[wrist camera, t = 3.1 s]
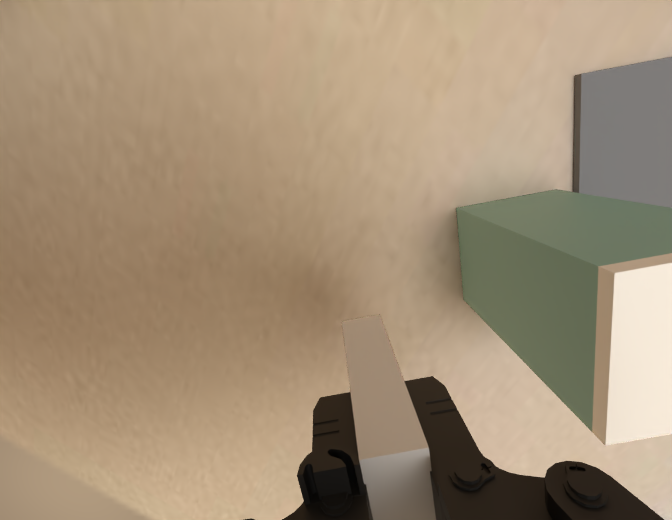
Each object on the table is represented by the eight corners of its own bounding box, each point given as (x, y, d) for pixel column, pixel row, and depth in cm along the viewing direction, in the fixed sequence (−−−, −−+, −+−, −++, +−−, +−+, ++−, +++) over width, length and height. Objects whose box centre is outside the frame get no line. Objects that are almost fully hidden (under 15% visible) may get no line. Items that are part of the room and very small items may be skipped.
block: (456, 207, 21) (614, 273, 10) (556, 189, 21) (832, 233, 10) (463, 299, 23) (605, 445, 12) (555, 282, 23) (790, 413, 12)
